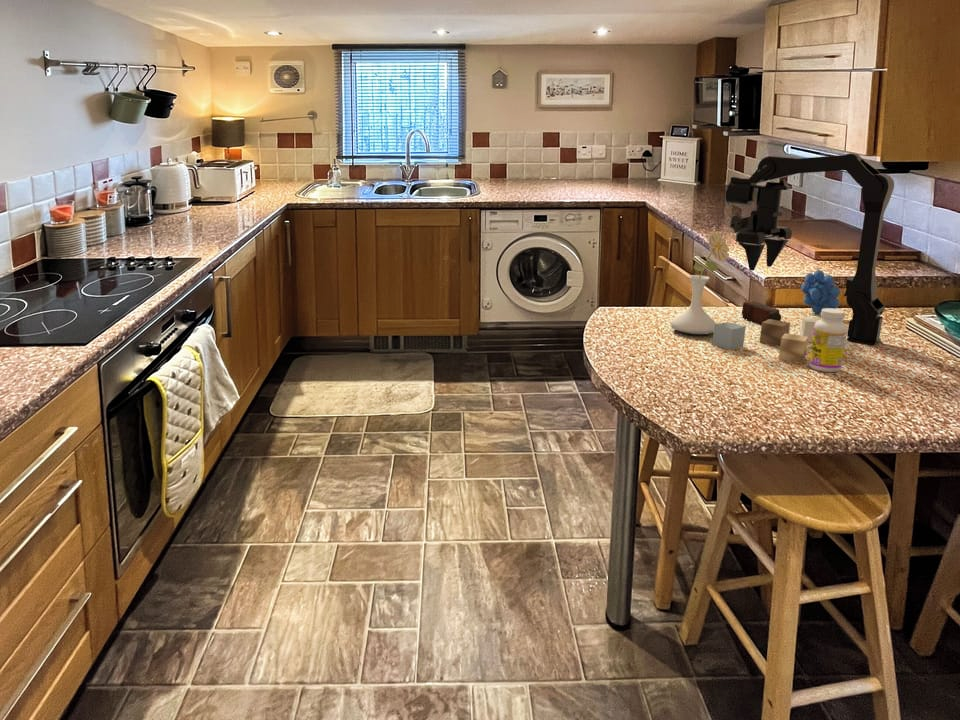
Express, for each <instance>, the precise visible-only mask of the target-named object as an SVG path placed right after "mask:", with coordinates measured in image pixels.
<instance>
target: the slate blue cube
mask: <svg viewBox="0 0 960 720" xmlns="http://www.w3.org/2000/svg"><path fill="white" fill-rule="evenodd" d="M746 327H747V326H745V325H742V324H738V323H734V322H729V321H726V322H720V323H716V324H715V325H714V332H712V333H713V335H712V344H711V345H712V346H715V347H718V348H721V349H725V350H728V351H729V350H730V351H731V350H736V349H741V348H744V342H745V335H746V334H745V333H746V329H747V328H746Z"/></svg>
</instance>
